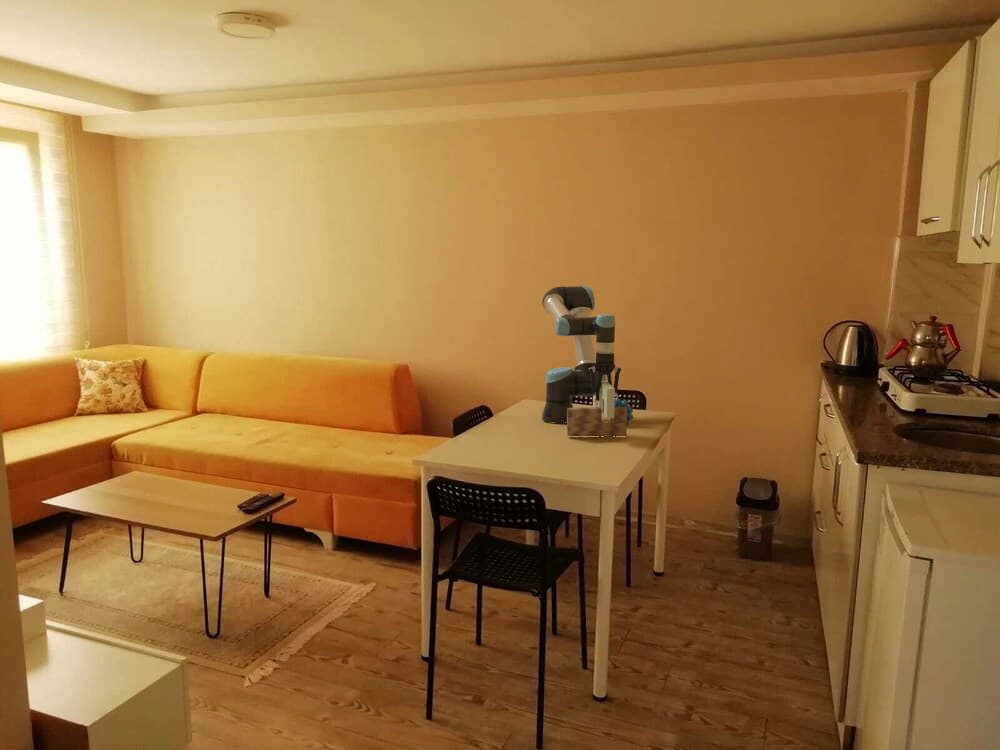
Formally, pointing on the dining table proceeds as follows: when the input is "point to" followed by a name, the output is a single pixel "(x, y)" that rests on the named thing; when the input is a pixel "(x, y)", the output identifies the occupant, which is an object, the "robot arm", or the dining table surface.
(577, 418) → the slotted board
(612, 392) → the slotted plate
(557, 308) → the robot arm
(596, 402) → the teacup with lid
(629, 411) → the grapes
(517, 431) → the dining table surface
